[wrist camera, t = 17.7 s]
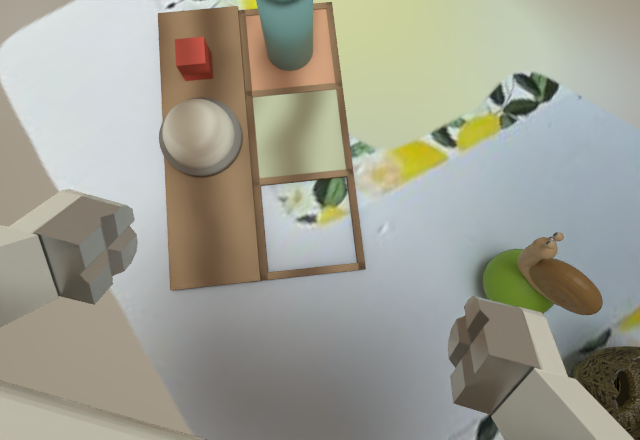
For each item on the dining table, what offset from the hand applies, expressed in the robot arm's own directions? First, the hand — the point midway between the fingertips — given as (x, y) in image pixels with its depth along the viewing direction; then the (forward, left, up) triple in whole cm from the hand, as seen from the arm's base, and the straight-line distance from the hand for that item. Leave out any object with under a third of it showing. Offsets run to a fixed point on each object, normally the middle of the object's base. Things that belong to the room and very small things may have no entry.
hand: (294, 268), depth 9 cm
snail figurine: (-16, +2, -25) cm, 30 cm away
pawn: (0, -22, -24) cm, 33 cm away
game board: (+3, -13, -26) cm, 29 cm away
